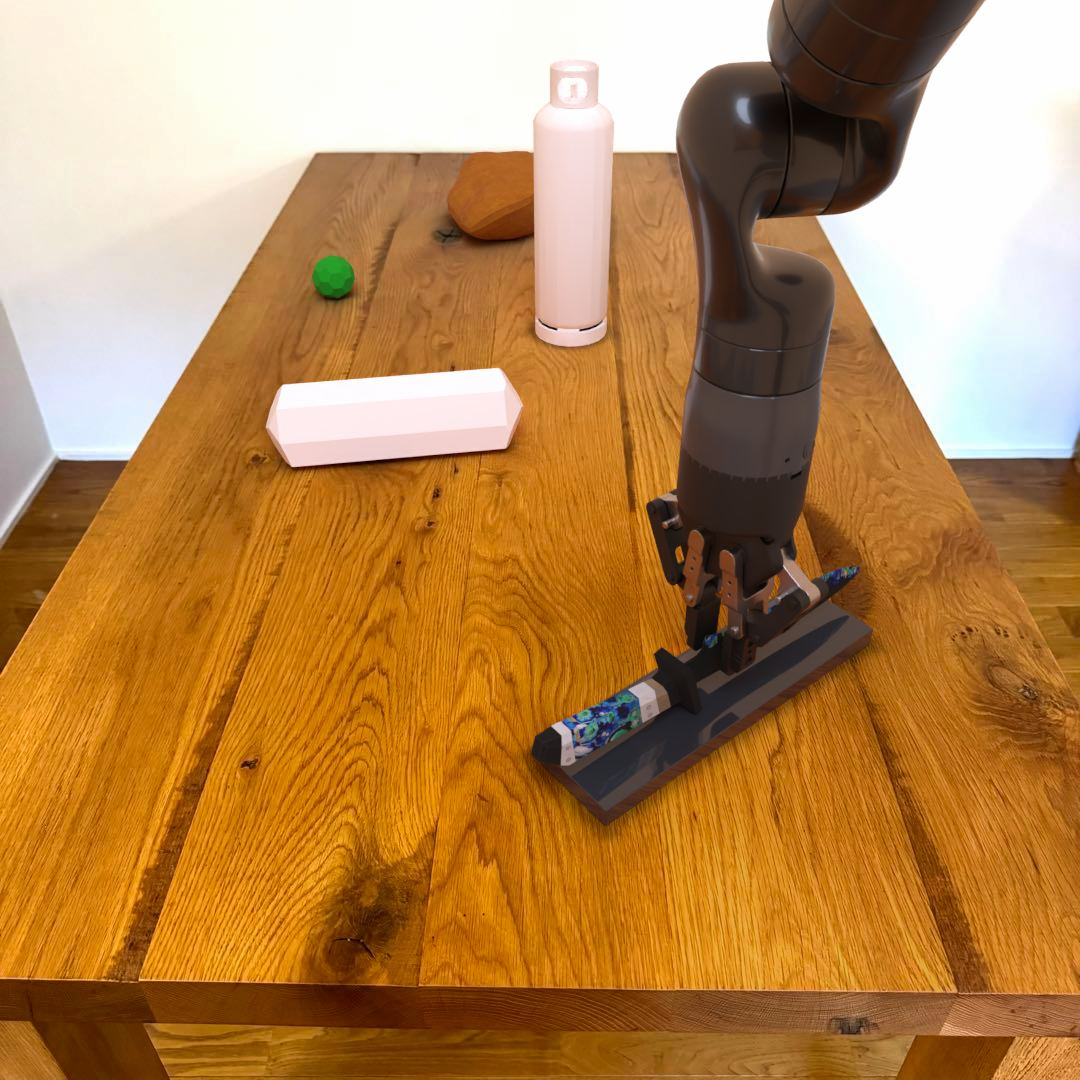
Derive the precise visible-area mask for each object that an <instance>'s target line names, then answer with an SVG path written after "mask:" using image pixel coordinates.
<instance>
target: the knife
mask: <svg viewBox="0 0 1080 1080" xmlns="http://www.w3.org/2000/svg"><path fill="white" fill-rule="evenodd" d="M860 572H861V567H860V566H855V565H851V566H845V567H840V568H837V569H835V570H834V569H833V570H832V571H829V572H828V573H827V572H826V573H825V574H822V575H821V576H818V578H821V579H822V580H824V581H825V582H826V584H827V586H828V589H829V592H828V594H827V595H826V596H825V597H824V598H823V599H822V600H821V601H820V602H819V603H818V604H817V605H815V606H814V607H813V608H812V609H811V610H810V611H809V612H808V613H810V612H811V611H813V610H814V609H815V608H817V607H818V606H820V605H821V604H822V603H824V602H825V601H827V600H829V599H831V598H832V597H834V596H835V595H837V594H838V593H839V592H840V591H841V590H842V589H843V588H844V587H845V586H847V585H848V584H849V583H851V581H852V580H854V579H855V577H856V576H857V575H858V574H859V573H860ZM777 605H778V604H775V605H773V606H772V607H770V608H769V609H768V614H769V613H770V612H771V611H772V610H773V609H774V608H775V607H776V606H777ZM808 613H807V614H808ZM807 614H806V615H807ZM803 617H804V616H803ZM803 617H802V618H803ZM724 632H725V631H723V632H720V633H717V634H713V635H708V636H705V638H704V644H703V646H702V649H701V650H700V651H699V653H698V654H697V655H696V656H695V657H694V658H693V659H692V660H690V661H689V662H687V663H685V664H684V663H683V662H682V661H680V660H679V659H677V658H676V656H675V655H673V654H672V653H671V652H669V650H667V649H666V648H664V647H663V646H662V647H659V649H657V650H656V651H655V652H654V653H653V656H654V660H655V664H656V666H657V667H656V668H658V671H657V672H656V673H655V674H654V675H653V676H652V677H651V678H650V679H649V680H647V681H644V682H642V683H640V684H638V685H636V686H634V687H632V688H630V689H628V690H626V691H624V692H622V693H620V694H618V695H615V696H613V697H611V696H610V697H611V698H609V697H608V698H609V699H607V698H606V699H607V700H606V699H604V700H605V701H604V700H602V701H603V702H602V701H601V702H599V703H596V704H595V705H592V706H590V707H587V708H586V709H583V710H581V711H579V712H578V713H575V714H573V715H571V716H569V717H566V718H564V719H563V720H560V721H558V722H556V723H553V724H552V725H550V726H548V727H546V729H544V730H543V731H541V732H539V733H538V734H536V735H534V738H533V742H532V747H531V752H530V755H531V756H532V757H533V758H534V759H535V760H536V761H537V762H538V763H540V762H544V763H548V764H553V765H559V766H564V765H571V764H572V763H574V762H576V761H578V760H579V759H581V758H583V757H584V756H586V755H588V754H590V753H591V752H593V751H595V750H597V749H598V748H600V747H602V746H604V745H605V744H607V743H609V742H611V741H612V740H614V739H616V738H617V737H619V736H621V735H623V734H624V733H626V732H628V731H630V730H631V729H633V728H635V727H637V726H638V725H640V724H642V723H644V722H645V721H647V720H649V719H650V718H652V717H654V716H656V715H657V714H659V713H661V712H663V711H664V710H666V709H668V708H670V707H671V706H673V705H675V704H677V703H681V704H682V705H683V706H684V707H686V708H687V709H688V710H690V711H691V712H692V713H693V714H697V713H698V712H699V711H700V710H701V709H702V706H701V701H700V697H699V693H698V688H697V684H696V683H697V682H699V681H701V680H703V679H705V678H706V677H708V676H710V675H712V674H714V673H715V672H717V671H719V670H720V669H719V668H720V660H721V653H722V646H723V639H724Z"/></svg>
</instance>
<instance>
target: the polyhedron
mask: <svg viewBox="0 0 1080 1080" xmlns="http://www.w3.org/2000/svg"><path fill="white" fill-rule="evenodd" d="M311 279H312V283H313V286H314V288H315V290H316V291H317V292H318V293H319V294H321V295H322V296H323V297H326V298H329V299H336V300H337V299H340V298H342V297H344V296H345V295H347V294H348V293H350V292H351V291H352V288H353V286H354V283H355V280H356V276H355V271H354V268H353V266H352V264H351V263H350V262H349V261H348V260H347V259H346V258H344V257H342V256H339V255H331V254H329V255H327V256H324V257H323V258H321V259H319V260H318V261H317V262H316V263H315V266H314V268H313V271H312V274H311Z"/></svg>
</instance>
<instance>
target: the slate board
mask: <svg viewBox="0 0 1080 1080" xmlns="http://www.w3.org/2000/svg"><path fill="white" fill-rule="evenodd" d="M777 595H778V594H777ZM777 595H775V596H777ZM775 596H773V597H771V598H769V599H768V609H769V608H770V607H772V606H773V605H775V604H777V603H776V602H775V600H774V597H775ZM726 630H728V629H727V625H726V626H724V627H722V628H720V629H719V630H717V633H720V632H723V631H726ZM873 633H874V628H873V627H871V626H869V624H867V623H865V622H863V621H862V620H860V619H859V618H857V617H855V616H854V615H852V614H851V613H849V612H847V611H846V610H845V609H843V608H842V607H840V606H838V605H836V604H835V603H834V602H832V601H831V600H829V599H828V600H827V601H825V602H824V603H822V604H821V605H820V606H818V607H817V608H815V609H814V610H813V611H811V612H810V613H808V614H807V615H805V616H804V617H803V618H801V619H800V620H799V621H798V622H797V623H796V624H795V625H794V626H792V627H791V628H790V629H789V630H788V631H786V632H785V633H783V634H780V635H779V636H777V637H775V638H774V639H772V640H771V641H770V642H769V643H767V644H766V645H764V646H763V647H757V649H756V650H757V651H756V657H755V661H754V662H753V663H752V664H751V665H750V666H748V667H747V668H745V669H743V670H742V671H740V672H739V673H734V674H733V675H731V676H727V675H726V674H725V673H723V672H722V671H721V670H719V671H717V672H715V673H714V674H712V675H710V676H708V677H706V678H705V679H703V680H701V681H699V682H697V683H696V684H697V688H698V693H699V697H700V701H701V706H702V709H701V710H700V711H699V712H698V713H697V714H693V713H692V712H691V711H690V710H688V709H687V708H686V707H684V706H683V705H682V704H681V703H677V704H675V705H673V706H671V707H670V708H668V709H666V710H664V711H663V712H661V713H659V714H657V715H656V716H654V717H652V718H650V719H649V720H647V721H645V722H644V723H642V724H640V725H638V726H637V727H635V728H633V729H631V730H630V731H628V732H626V733H624V734H623V735H621V736H619V737H617V738H616V739H614V740H612V741H611V742H609V743H607V744H605V745H604V746H602V747H600V748H598V749H597V750H595V751H593V752H591V753H590V754H588V755H586V756H584V757H583V758H581V759H579V760H578V761H576V762H574V763H572V764H571V765H564V766H559V765H553V764H548V763H544V762H539V763H540V764H541V766H543V767H544V768H545V769H546V770H547V771H548V772H549V773H550V775H552V776H553V777H554V778H555V779H556V781H558V782H559V783H560V784H561V785H562V786H563V787H564V788H565V789H566V790H567V791H568V792H569V793H571V794H572V796H574V797H575V798H576V800H577V801H579V802H580V803H581V804H582V805H583V807H585V808H586V809H587V811H589V812H590V813H591V814H592V815H593V816H594V817H595V818H596V819H597V820H598V821H599V822H600V823H601V824H602V825H603V826H605V827H606V826H608V825H609V824H611V823H612V822H614V821H615V820H616V819H618V818H619V817H621V816H623V815H624V814H625V813H626V812H628V811H630V810H632V808H634V807H636V806H637V805H638V804H640V803H641V802H643V801H644V800H646V799H647V798H648V797H650V796H651V795H653V794H654V793H656V792H657V791H659V790H660V789H661V788H663V787H665V786H666V785H667V784H669V783H670V782H672V781H673V780H675V779H676V778H677V777H679V776H680V775H682V774H683V773H685V772H686V771H688V770H689V769H691V768H692V767H693V766H694V765H696V764H697V763H699V762H701V761H702V760H704V758H706V757H708V756H710V754H713V752H715V751H717V750H718V749H719V748H721V747H722V746H724V745H725V744H727V743H728V742H730V741H731V740H733V739H734V738H735V737H737V736H738V735H740V734H742V732H745V730H748V728H750V727H751V726H753V725H754V724H756V723H757V722H759V721H760V720H762V719H763V718H765V717H766V716H768V715H769V714H770V713H772V712H773V711H775V710H776V709H778V708H779V707H780V706H782V705H784V704H785V703H786V702H788V701H789V700H790V699H792V698H793V697H795V696H796V695H798V694H799V693H801V692H802V691H804V690H805V689H806V688H808V687H810V686H811V685H812V684H814V683H815V682H817V681H818V680H819V679H821V678H823V677H824V676H826V674H828V673H830V672H831V671H832V670H834V669H835V668H837V667H838V666H841V664H843V663H844V662H846V661H847V660H848V659H850V658H851V657H853V656H854V655H856V654H858V653H859V652H860V651H861V650H863V649H865V648H867V646H869V645H870V644H871V641H872V638H873V637H872V636H873ZM701 649H702V648H701ZM701 649H699V650H698V651H694V650H693V649H692V648H690V647H688V649H686V650H684V651H683V652H681V653H679V654H678V655H676V656H675V657H676V658H677V659H679V660H680V661H682V662H683V663H684V664H685V663H687V662H689V661H690V660H692V659H693V658H694V657H695V656H696V655H697V654H698V653H699V651H700V650H701ZM657 671H658V667H656V668H654V669H653V670H652V671H650V672H648V673H646V674H645V675H643V676H641V677H640V678H639V679H637V680H635V681H634V682H631V683H630V684H629V685H627V686H625V687H624V688H622V689H620V690H619V691H617V692H616V693H614V694H612V695H611V696H609V697H607V698H605V699H604V700H602V701H601V702H603V701H605V700H607V699H609V698H611V697H613V696H615V695H618V694H620V693H622V692H624V691H626V690H628V689H630V688H632V687H634V686H636V685H638V684H640V683H642V682H644V681H647V680H649V679H650V678H651V677H652V676H653V675H654V674H655V673H656V672H657Z"/></svg>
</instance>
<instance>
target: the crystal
mask: <svg viewBox="0 0 1080 1080" xmlns="http://www.w3.org/2000/svg"><path fill="white" fill-rule="evenodd" d="M523 410H524V404H523V402H522V400H521V398H520V396H519V394H518V392H517V390H516V388H514V385H513V384H512V383H511V381H510V379H509V377H508V376H507V375H506V374H505V372H504V371H503V369H502V368H500V367H493V368H492V367H491V368H480V369H479V368H478V369H468V370H467V369H466V370H455V371H453V370H452V371H443V372H442V371H441V372H428V373H415V374H404V375H403V374H402V375H391V376H376V377H365V378H363V377H362V378H352V379H351V378H350V379H338V380H327V381H326V380H325V381H313V382H299V383H286V384H285V383H284V384H282V385H281V386H280V387H279V389H277V391H276V394H275V396H274V398H273V401H272V404H271V406H270V409H269V412H268V416H267V421H266V424H265V430H266V432H267V434H268V436H269V437H270V439H271V441H272V443H273V445H274V447H275V449H276V450H277V451H278V453H279V454H280V456H281V458H282V459H283V461H285V463H286V464H288V465H289V466H290V467H291V468H297V467H298V468H299V467H309V466H322V465H331V464H343V463H356V462H366V461H377V460H390V459H401V458H413V457H425V456H434V455H447V454H458V453H469V452H483V451H492V450H506V449H507V448H508V447H510V444H511V442H512V439H513V437H514V435H515V433H516V430H517V427H518V425H519V423H520V420H521V417H522V413H523Z"/></svg>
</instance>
